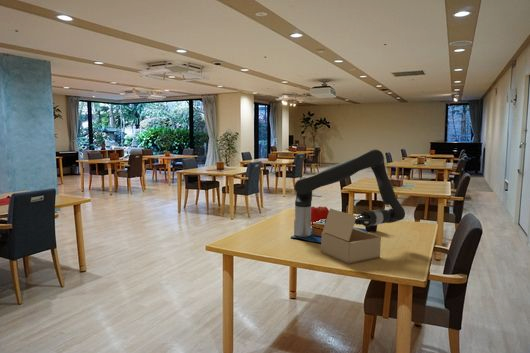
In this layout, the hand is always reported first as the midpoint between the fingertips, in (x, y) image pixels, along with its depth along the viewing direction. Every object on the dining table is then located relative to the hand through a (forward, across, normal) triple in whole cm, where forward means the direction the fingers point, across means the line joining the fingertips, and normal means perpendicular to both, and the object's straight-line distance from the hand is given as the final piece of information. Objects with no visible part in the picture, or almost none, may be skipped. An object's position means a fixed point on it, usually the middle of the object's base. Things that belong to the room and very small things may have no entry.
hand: (345, 221), depth 188 cm
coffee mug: (-47, -30, +17) cm, 58 cm away
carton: (-4, 0, +17) cm, 17 cm away
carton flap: (+6, 0, +6) cm, 9 cm away
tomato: (-28, -57, +17) cm, 65 cm away
